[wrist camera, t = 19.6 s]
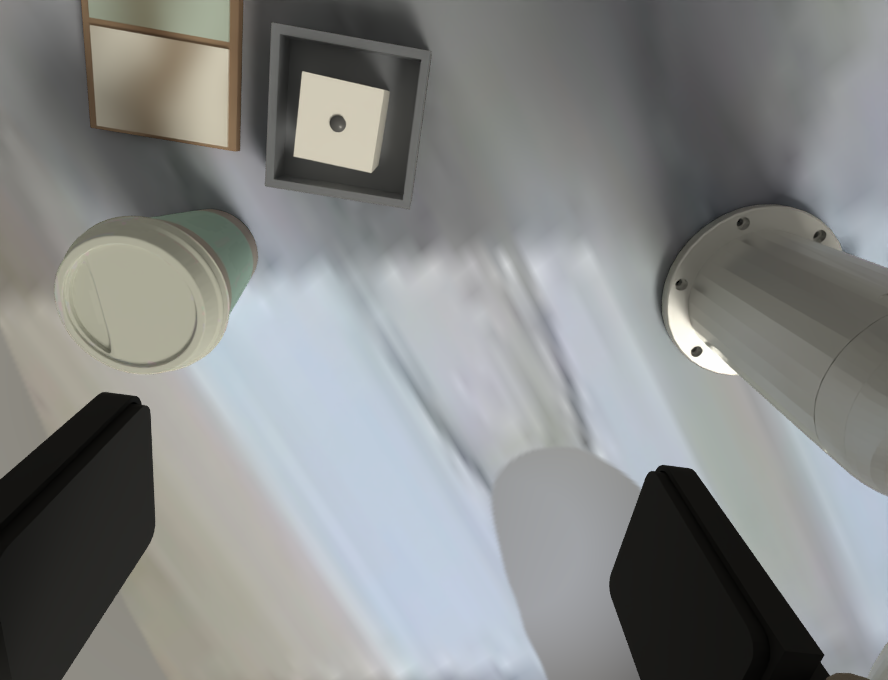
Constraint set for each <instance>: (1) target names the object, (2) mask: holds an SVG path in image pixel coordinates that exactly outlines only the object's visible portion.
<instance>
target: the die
mask: <svg viewBox="0 0 888 680" xmlns="http://www.w3.org/2000/svg"><path fill="white" fill-rule="evenodd" d="M389 97H390V91H387V90H383V89H378V88H374V86H371V85H367V84H362V83H358V84H356V83H352V82H347V81H343V80H341V79H339V78H335V77H331V76H321V75H317V74H312V73H308V72H304V71H302V79H301V88H300V98H299V108H298V117H297V127H296V137H295V147H294V157H299V158H304V159H308V160H313V161H318V162H322V163H327V164H332V165H336V166H341V167H346V168H350V169H355V170H360V171H364V172H369V173H372V172H373V171H374V170H375V169H376V167H377V166H378V165H379V159H380V153H381V147H382V141H383V134H384V128H385V122H386V115H387V109H388V103H389Z"/></svg>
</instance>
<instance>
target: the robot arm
mask: <svg viewBox="0 0 888 680" xmlns="http://www.w3.org/2000/svg"><path fill="white" fill-rule="evenodd" d="M739 219H740V222H739V223H738V224H737V222H738V220H739ZM679 279H680V281H679V283H678V284H676V282H677V281H678V280H679ZM662 316H663V320H664V324H665V328H666V330H667V332H668V334H669V336H670V338H671V340H672V342H673V343H674V344H675V345H676V347H677V348H678V349H679V350H680V352H681V353H682V354H683V355H685V356H686V357H687V358H688V359H689V360H690V361H691V362H693V363H695V364H696V365H698V366H700V367H701V368H703V369H706V370H709V371H712V372H715V373H719V374H726V375H739V376H741V377H742V378H743V379H744V380H745V381H746V382H747V383H748V384H749V385H751V386H752V387H753V388H754V389H755V390H756V391H757V392H758V393H759V394H761V395H762V396H763V397H764V398H765V399H766V400H767V401H768V402H770V403H771V404H772V405H773V406H774V407H775V408H776V409H777V410H778V411H780V412H781V413H782V414H783V415H784V416H785V417H786V418H787V419H788V420H790V421H791V422H792V423H793V424H794V425H795V426H796V427H797V428H798V429H800V430H801V431H802V432H803V433H804V434H805V435H806V436H807V437H808V438H810V439H811V440H812V441H813V442H814V443H815V444H816V445H817V446H819V447H820V448H821V449H822V450H823V451H824V452H825V453H826V454H828V455H829V456H830V457H831V458H832V459H833V460H835V461H836V462H837V463H838V464H839V465H840V466H841V467H843V468H844V469H845V470H846V471H847V472H848V473H849V474H851V475H852V476H853V477H855V478H856V479H857V480H859V481H860V482H861V483H863V484H864V485H866V486H868V487H870V488H871V489H873V490H875V491H877V492H879V493H881V494H883V495H886V496H888V268H886V267H884V266H881V265H878V264H875V263H873V262H870V261H867V260H865V259H862V258H859V257H856V256H854V255H851V254H848V253H845V252H843V251H842V248H841V245H840V242H839V241H838V239H837V238H836V236H835V235H834V233H833V232H832V230H831V229H830V228H829V227H828V226H827V225H826V224H824V223H823V222H822V221H821V220H820V219H818V218H817V217H815V216H813V215H811V214H809V213H807V212H805V211H802V210H799V209H796V208H793V207H789V206H783V205H777V204H763V205H753V206H749V207H744V208H740V209H737V210H735V211H732V212H730V213H727V214H725V215H722V216H721V217H719V218H717V219H716V220H714V221H713V222H711V223H709V224H708V225H706V226H705V227H704V228H702V229H701V230H700V231H699V232H698V233H697V234H696V235H694V236H693V237H692V238H691V239H690V240H689V242H688V243H687V244H686V245H685V246H684V248H683V249H682V250H681V251H680V252H679V254H678V256H677V257H676V259H675V261H674V263H673V264H672V266H671V268H670V270H669V273H668V276H667V278H666V281H665V284H664V290H663V296H662ZM692 348H693V349H692ZM154 529H155V505H154V482H153V459H152V436H151V414H150V409H149V407H148V406H145V405H142V404H141V401H140V399H139V398H138V397H137V396H131V395H124V394H116V393H108V392H102V393H100V394H99V395H97V396H96V397H95V398H94V399H93V400H92V401H90V402H89V403H88V404H87V405H86V406H85V407H83V408H82V409H81V410H80V411H79V412H78V413H77V414H75V415H74V416H73V417H72V418H71V419H70V420H68V421H67V422H66V423H65V424H64V425H63V426H62V427H60V428H59V429H58V430H57V431H56V432H55V433H53V434H52V435H51V436H50V437H49V438H48V439H47V440H45V441H44V442H43V443H42V444H41V445H40V446H38V447H37V448H36V449H35V450H34V451H33V452H31V453H30V454H29V455H28V456H27V457H26V458H25V459H24V460H22V461H21V462H20V463H19V464H18V465H17V466H15V467H14V468H13V469H12V470H11V471H10V472H8V473H7V474H6V475H5V476H4V477H3V478H1V479H0V680H61V679H62V678H63V677H64V675H65V673H66V672H67V670H68V669H69V667H70V666H71V664H72V663H73V661H74V659H75V658H76V656H77V655H78V654H79V652H80V650H81V649H82V647H83V646H84V644H85V643H86V641H87V640H88V638H89V637H90V635H91V633H92V632H93V630H94V629H95V627H96V626H97V624H98V623H99V621H100V619H101V618H102V616H103V615H104V613H105V612H106V610H107V609H108V607H109V606H110V604H111V603H112V601H113V599H114V598H115V596H116V595H117V593H118V592H119V590H120V589H121V587H122V586H123V584H124V583H125V581H126V579H127V578H128V576H129V575H130V573H131V572H132V570H133V569H134V567H135V566H136V564H137V562H138V561H139V559H140V558H141V556H142V555H143V553H144V552H145V550H146V549H147V547H148V545H149V544H150V542H151V539H152V537H153V534H154ZM609 587H610V594H611V598H612V600H613V603H614V606H615V609H616V612H617V615H618V618H619V621H620V623H621V626H622V629H623V632H624V635H625V637H626V640H627V643H628V645H629V648H630V651H631V654H632V657H633V659H634V663H635V665H636V668H637V671H638V674H639V676H640V679H641V680H888V642H887V644H886V645H885V646H884V648H883V650H882V651H881V653H880V654H879V656H878V658H877V659H876V661H875V662H874V664H873V666H872V668H871V670H870V672H869V675H868V678H865V677H861V676H858V675H855V674H851V673H835V674H833V675H831V676H830V675H829V674H828V672H827V671H826V669H825V668H824V667H823V665H822V664H821V660H822V658H823V657H824V654H823V652H822V651H821V650H820V648H819V647H818V645H817V644H816V642H815V641H814V640H813V638H812V637H811V635H810V634H809V632H808V631H807V630H806V628H805V627H804V625H803V624H802V623H801V621H800V620H799V618H798V617H797V615H796V614H795V613H794V611H793V610H792V608H791V607H790V606H789V604H788V603H787V601H786V600H785V598H784V597H783V596H782V594H781V593H780V591H779V590H778V589H777V587H776V586H775V584H774V583H773V581H772V580H771V579H770V577H769V576H768V574H767V573H766V572H765V570H764V569H763V567H762V566H761V564H760V563H759V562H758V560H757V559H756V557H755V556H754V554H753V553H752V552H751V550H750V549H749V547H748V546H747V545H746V543H745V542H744V540H743V539H742V537H741V536H740V535H739V533H738V532H737V530H736V529H735V528H734V526H733V525H732V523H731V522H730V520H729V519H728V518H727V516H726V515H725V513H724V512H723V511H722V509H721V508H720V506H719V505H718V503H717V502H716V501H715V499H714V498H713V496H712V495H711V494H710V492H709V491H708V489H707V488H706V486H705V485H704V484H703V482H702V481H701V479H700V478H699V476H698V475H697V474H696V472H695V471H694V470H693V469H690V468H683V467H675V466H667V465H661V466H659V467H658V468H657V469H656V471H651V472H649V473H648V474H647V476H646V478H645V481H644V484H643V487H642V489H641V492H640V495H639V498H638V501H637V503H636V506H635V509H634V512H633V515H632V517H631V520H630V523H629V525H628V528H627V531H626V534H625V537H624V539H623V542H622V545H621V548H620V550H619V553H618V556H617V559H616V561H615V564H614V567H613V570H612V572H611V576H610V582H609Z"/></svg>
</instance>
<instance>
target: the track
mask: <svg viewBox="0 0 888 680" xmlns="http://www.w3.org/2000/svg"><path fill="white" fill-rule="evenodd" d="M81 6H82V19H83V33H84V46H85V60H86V73H87V87H88V100H89V114H90V127H91V128H96V129H102V130H109V131H115V132H121V133H127V134H133V135H139V136H145V137H151V138H157V139H163V140H169V141H176V142H182V143H188V144H194V145H200V146H206V147H212V148H218V149H224V150H230V151H240V126H241V80H242V33H243V0H81Z"/></svg>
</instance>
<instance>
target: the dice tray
mask: <svg viewBox="0 0 888 680" xmlns="http://www.w3.org/2000/svg"><path fill="white" fill-rule="evenodd" d="M431 56H432V55H431V51H427V50H422V49H416V48H411V47H405V46H400V45H394V44H389V43H383V42H378V41H372V40H367V39H361V38H356V37H350V36H345V35H339V34H334V33H328V32H323V31H317V30H312V29H306V28H301V27H295V26H290V25H284V24H279V23H273V22H271V44H270V70H269V96H268V122H267V148H266V174H265V186H267V187H273V188H279V189H286V190H292V191H298V192H304V193H310V194H317V195H323V196H329V197H335V198H342V199H348V200H354V201H360V202H367V203H373V204H379V205H385V206H392V207H398V208H404V209H410V206H411V201H412V194H413V187H414V180H415V172H416V165H417V158H418V150H419V143H420V136H421V128H422V121H423V114H424V107H425V99H426V92H427V85H428V77H429V70H430V63H431ZM302 71H304V72H308V73H312V74H317V75H321V76H331V77H335V78H339V79H341V80H343V81H347V82H352V83H356V84H358V83H362V84H367V85H371V86H374V88H378V89H383V90H387V91H390V97H389V103H388V109H387V115H386V122H385V128H384V134H383V141H382V147H381V153H380V159H379V165H378V166H377V167H376V169H375V170H374V171H373V172H372V173H369V172H364V171H360V170H355V169H350V168H346V167H341V166H336V165H332V164H327V163H322V162H318V161H313V160H308V159H304V158H299V157H294V147H295V137H296V127H297V117H298V108H299V98H300V88H301V79H302Z"/></svg>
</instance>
